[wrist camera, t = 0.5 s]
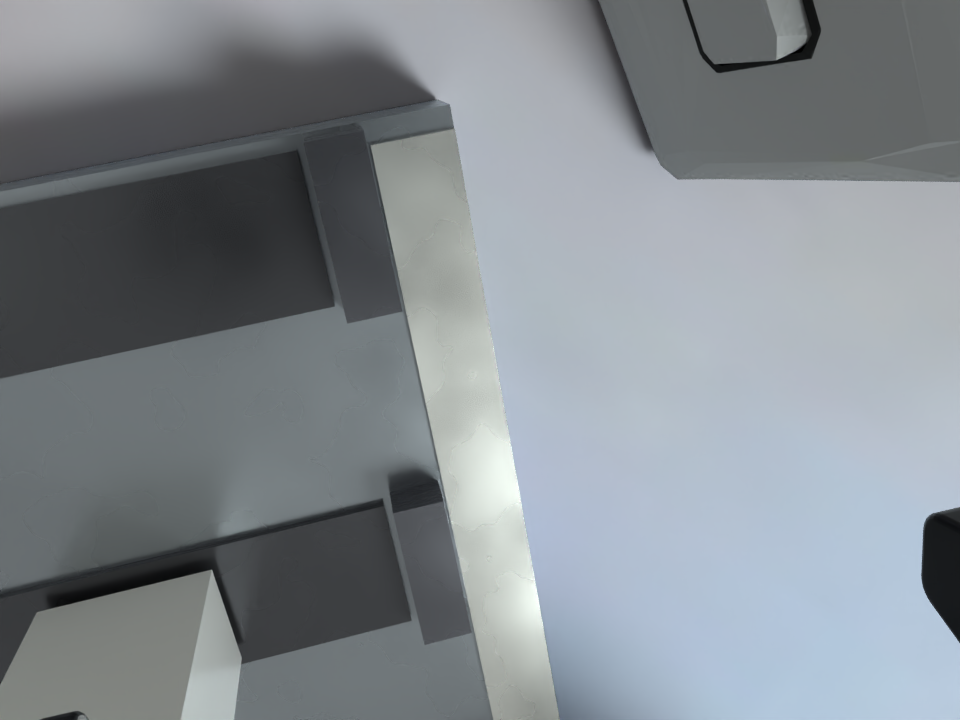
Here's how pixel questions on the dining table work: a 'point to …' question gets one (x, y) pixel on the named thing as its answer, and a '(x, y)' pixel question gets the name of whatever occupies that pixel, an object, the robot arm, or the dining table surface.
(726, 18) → the electrical switch
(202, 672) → the breaker
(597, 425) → the dining table surface
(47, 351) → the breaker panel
